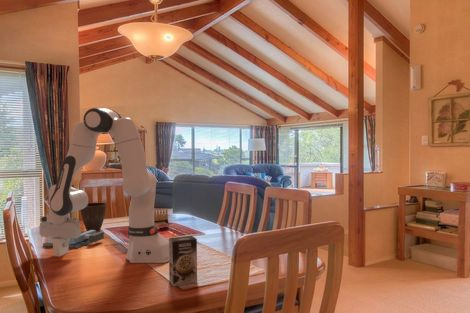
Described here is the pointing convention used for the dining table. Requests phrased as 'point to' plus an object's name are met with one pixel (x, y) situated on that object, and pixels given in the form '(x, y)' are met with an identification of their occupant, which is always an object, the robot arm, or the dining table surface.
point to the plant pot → (93, 216)
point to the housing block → (59, 247)
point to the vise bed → (77, 245)
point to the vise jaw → (88, 237)
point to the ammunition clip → (163, 217)
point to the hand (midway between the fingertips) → (60, 246)
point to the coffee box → (182, 260)
